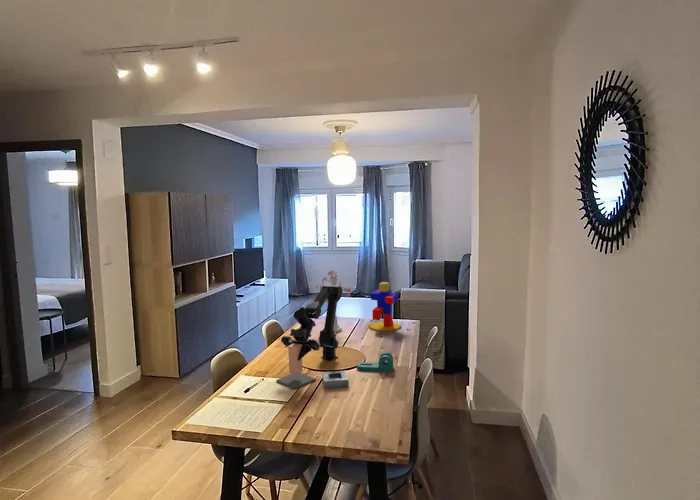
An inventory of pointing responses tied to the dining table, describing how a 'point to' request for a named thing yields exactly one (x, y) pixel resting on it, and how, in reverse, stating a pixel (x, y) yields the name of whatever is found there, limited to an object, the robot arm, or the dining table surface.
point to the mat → (296, 380)
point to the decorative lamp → (334, 283)
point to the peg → (294, 359)
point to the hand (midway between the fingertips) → (293, 359)
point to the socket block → (335, 379)
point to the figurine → (384, 309)
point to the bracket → (378, 364)
